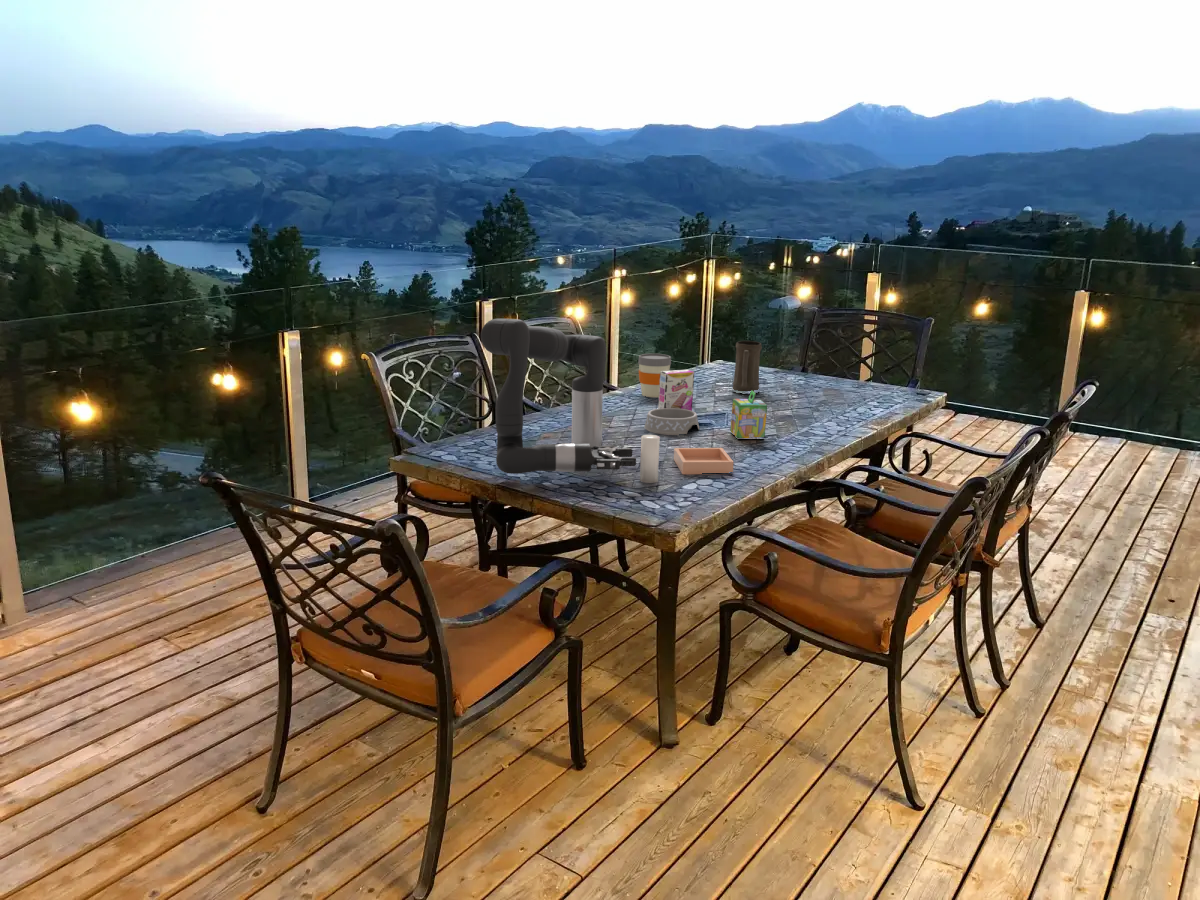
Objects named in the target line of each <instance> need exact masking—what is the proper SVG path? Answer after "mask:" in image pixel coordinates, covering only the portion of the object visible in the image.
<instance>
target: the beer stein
mask: <svg viewBox="0 0 1200 900" xmlns="http://www.w3.org/2000/svg"><path fill="white" fill-rule="evenodd" d="M735 349H736V352H735V364H734V373H733V374H734V376H733V382H732V388H733V389H734V390H738V391H751V390H752V391H754V390H758V389H759V390H760V362H761V361H760V360H761V358H760V357H761V351H762V349H763V347H762V342H759V341H756V340H740V341H737V342H736V343H735Z"/></svg>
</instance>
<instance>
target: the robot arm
mask: <svg viewBox="0 0 1200 900" xmlns="http://www.w3.org/2000/svg"><path fill="white" fill-rule="evenodd" d="M480 340H481V341H480V342H481V343H482V346H483V347H484V348H485V350H486V351H488V353H491V354H493V355H496V356H497V355H498V356H509V369H508V374H507V377H506V379H505V382H504V383H503V385H502V387H501V388H500V391H499V392H498V396H497V397H496V402H495V429H496V433H497V438H496V439H497V441H496V459H495V460H496V462H495V463H496V465H497V467H498V469H499V470H500V471H501V472H503V473H505V474H513V475H518V474H526V473H527V474H528V473H533V472H564V473H566V472H567V473H569V472H570V473H576V472H577V473H578V472H579V473H581V472H582V473H583V472H584V473H586V472H591V471H592V466H596V470H614V471H615V470H616V471H617V470H618V471H619V470H620V469H621V468H622V467H635V466H636V465H637V458H636V457H632V456H633V449H632V448H630V447H629V448H625V447H624V448H623V447H622V448H621V447H620V448H618V447H616V446H615V445H613V444H612V445H602V443H603V442H602V441H603V440H602V439H603V438H602V437H603V402H604V401H603V399H604V398H603V396H604V393H603V392H604V381H605V376H606V363H607V361H606V360H607V345H606V340H605V339H604V338H603V337H601V336H597V335H588V334H565V333H564V332H563V331H561V329H558V328H553V327H547V326H541V325H540V326H538V325H535V326H534V325H533V326H531V325H529V326H528V324H527V323H526V322H525V321H524V320H522V319H518V318H516V319H515V318H493V319H490V320H489V321H487V322H486V323H485V324H484V325H483V326H482V329H481V331H480ZM529 358H530V359H533V360H539V361H543V362H558V361H563V362H566V363H569V364H572V365H575V366H580V367H587V369H586V370H587V371H586V374H584V375H582V376H578V377H575V378H573V379H572V381H571V385H572V386H571V442H570V443H569V442H564V443H558V444H557V443H556V444H554V443H553V444H551V443H550V444H548V443H547V444H545V443H543V444H537V445H535V446H532V447H524V441H523V429H524V411H523V408H524V407H523V405H524V403H523V401H524V390H525V388H524V387H525V381H526V376H527V369H528V367H527V366H528V359H529Z"/></svg>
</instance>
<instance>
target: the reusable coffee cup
mask: <svg viewBox="0 0 1200 900" xmlns="http://www.w3.org/2000/svg"><path fill="white" fill-rule="evenodd" d="M637 363H638V365H639V366H638V367H639V368H638V378H639V383H640V390H641V396H642V397H645V396H646V397H647V398H659V384H660V371H670V370H671V369H670V368H671V365H672V357H671V355H668V354H664V353H663V354H662V353H643V354H640V355H638V361H637ZM646 397H645V398H646Z"/></svg>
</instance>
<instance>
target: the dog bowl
mask: <svg viewBox="0 0 1200 900" xmlns="http://www.w3.org/2000/svg"><path fill="white" fill-rule="evenodd" d="M695 425H697V426H696V427H697V429H698V430H699V429H700V426H699V419H698V414H697V412H695V411H693V410H692V411H691V410H687V409H680V408H660V409H658V408H656V409H652V410H649V411H648V412H647V415H646V420H645V423H644V425H643V426H644V427H643V428H644V429H645V430H646V431H648V432H650V433H653V434H657V435H658V434H659V435H668V436H680V435H679V434H686V435H687V434H688V431H689V430H691V429H692V427H693V426H695Z"/></svg>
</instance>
